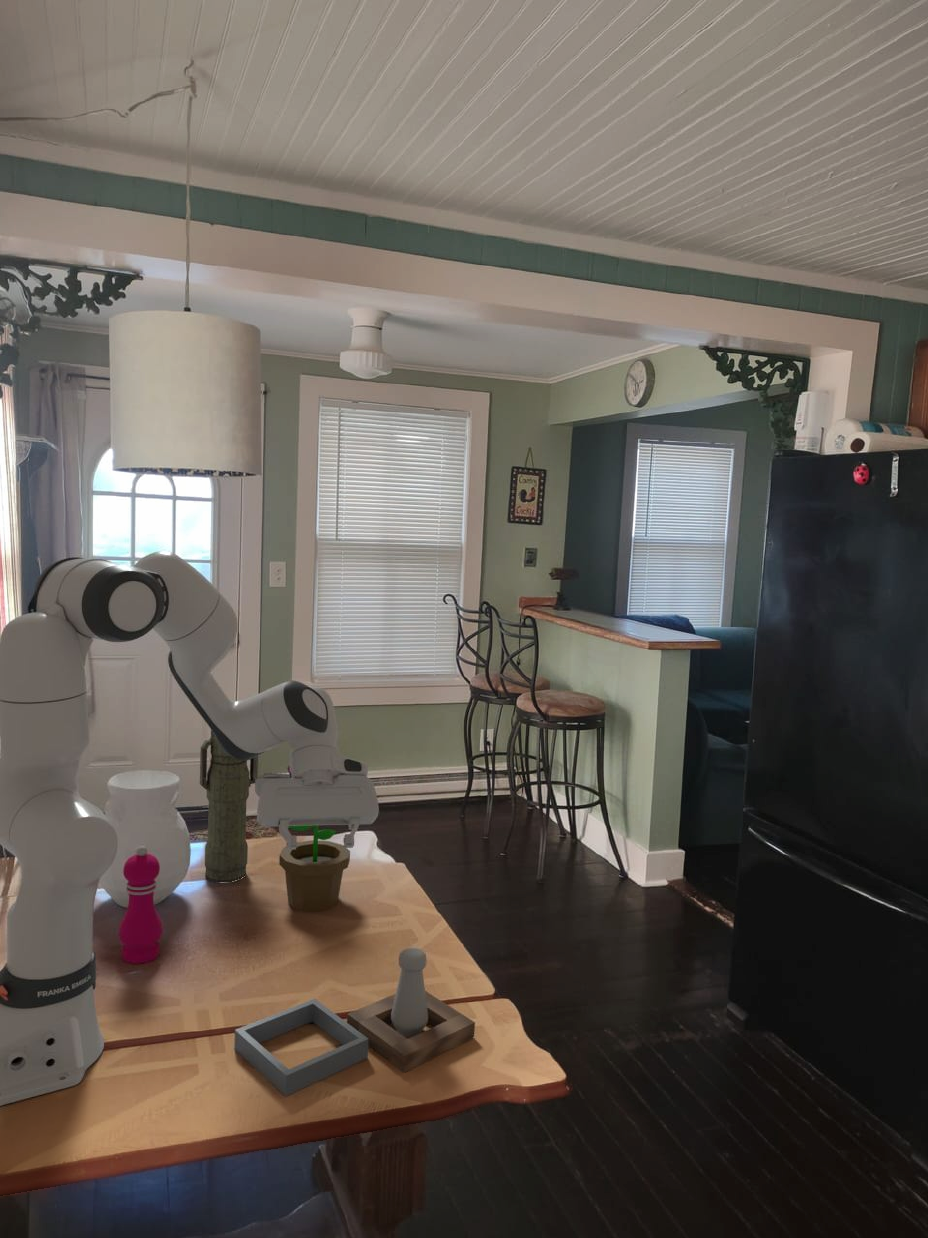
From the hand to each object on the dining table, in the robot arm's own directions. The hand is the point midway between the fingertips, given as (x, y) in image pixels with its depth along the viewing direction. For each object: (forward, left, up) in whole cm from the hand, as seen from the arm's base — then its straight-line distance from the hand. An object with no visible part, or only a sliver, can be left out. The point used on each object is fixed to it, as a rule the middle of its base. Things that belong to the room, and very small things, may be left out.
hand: (320, 847), depth 147 cm
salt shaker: (+5, -19, -25) cm, 32 cm away
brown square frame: (+4, -19, -25) cm, 32 cm away
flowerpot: (+19, +30, -25) cm, 43 cm away
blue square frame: (-12, -13, -25) cm, 30 cm away
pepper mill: (-18, +29, -25) cm, 42 cm away
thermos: (+11, +52, -25) cm, 59 cm away
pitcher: (-8, +51, -25) cm, 57 cm away
